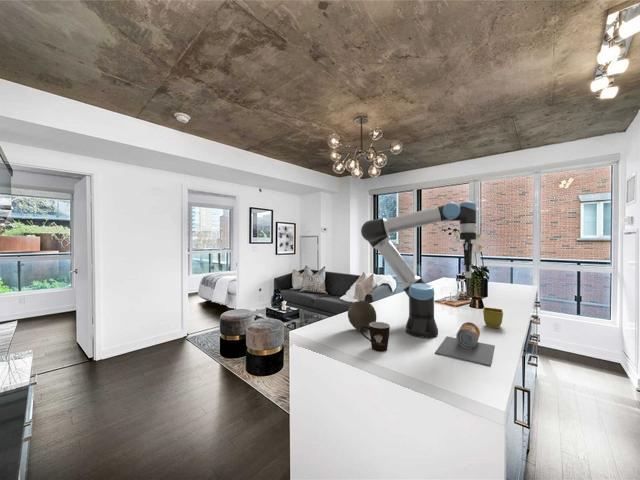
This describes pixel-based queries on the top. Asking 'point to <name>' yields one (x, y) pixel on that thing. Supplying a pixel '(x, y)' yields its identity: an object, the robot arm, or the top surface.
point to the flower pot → (492, 317)
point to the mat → (466, 351)
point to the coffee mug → (378, 335)
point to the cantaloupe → (361, 314)
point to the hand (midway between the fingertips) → (468, 277)
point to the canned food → (468, 335)
